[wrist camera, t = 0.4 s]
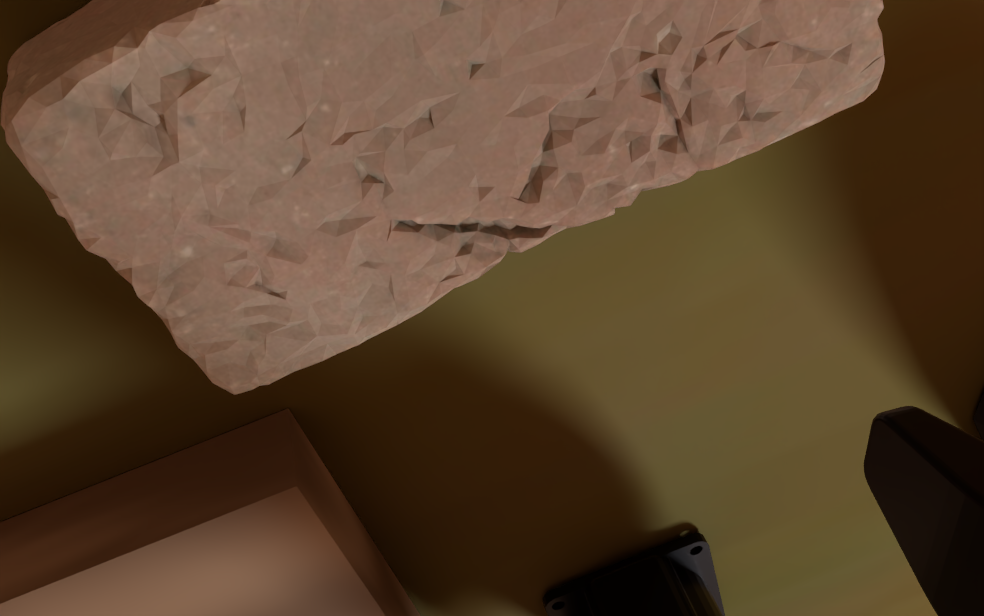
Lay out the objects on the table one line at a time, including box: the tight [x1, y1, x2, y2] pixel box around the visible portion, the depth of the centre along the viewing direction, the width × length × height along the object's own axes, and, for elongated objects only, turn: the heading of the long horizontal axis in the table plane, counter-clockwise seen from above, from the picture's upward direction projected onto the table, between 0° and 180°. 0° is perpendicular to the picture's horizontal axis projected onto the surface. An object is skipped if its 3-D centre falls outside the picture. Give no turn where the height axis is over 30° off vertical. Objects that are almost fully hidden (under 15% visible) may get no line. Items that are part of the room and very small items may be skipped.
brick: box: [1, 0, 885, 395], centre depth 19 cm, size 16×8×5 cm, turn 114°
